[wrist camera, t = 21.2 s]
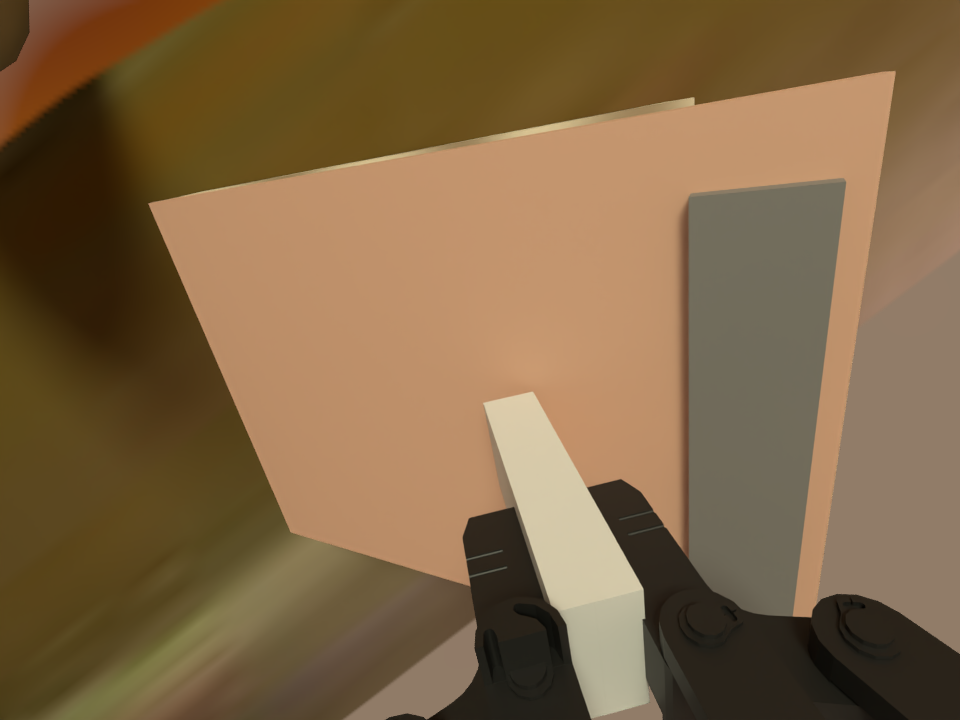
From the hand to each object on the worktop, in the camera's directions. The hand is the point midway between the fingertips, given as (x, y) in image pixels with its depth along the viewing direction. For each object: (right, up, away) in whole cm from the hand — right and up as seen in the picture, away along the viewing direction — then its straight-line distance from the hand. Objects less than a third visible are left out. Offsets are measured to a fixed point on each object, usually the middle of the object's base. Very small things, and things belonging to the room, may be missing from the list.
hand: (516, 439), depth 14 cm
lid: (-2, +1, +3) cm, 3 cm away
